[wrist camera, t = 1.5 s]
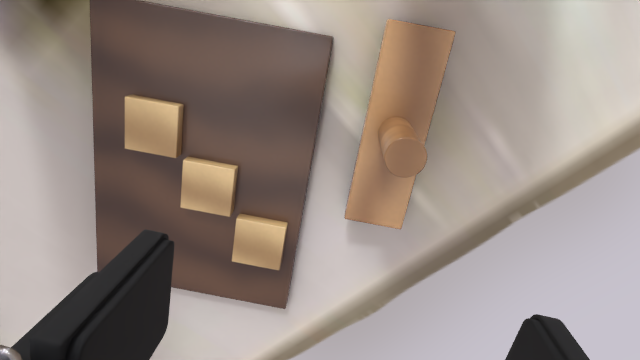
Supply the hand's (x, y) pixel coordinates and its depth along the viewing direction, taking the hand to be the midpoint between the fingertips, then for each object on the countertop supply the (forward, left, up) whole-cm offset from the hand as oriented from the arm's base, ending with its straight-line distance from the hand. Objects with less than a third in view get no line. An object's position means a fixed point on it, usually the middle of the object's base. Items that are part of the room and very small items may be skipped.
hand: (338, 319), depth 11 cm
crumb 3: (+10, -5, -20) cm, 23 cm away
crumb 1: (+2, -14, -20) cm, 25 cm away
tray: (+5, -11, -21) cm, 24 cm away
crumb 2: (+6, -10, -20) cm, 23 cm away
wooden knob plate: (-1, +3, -21) cm, 22 cm away
